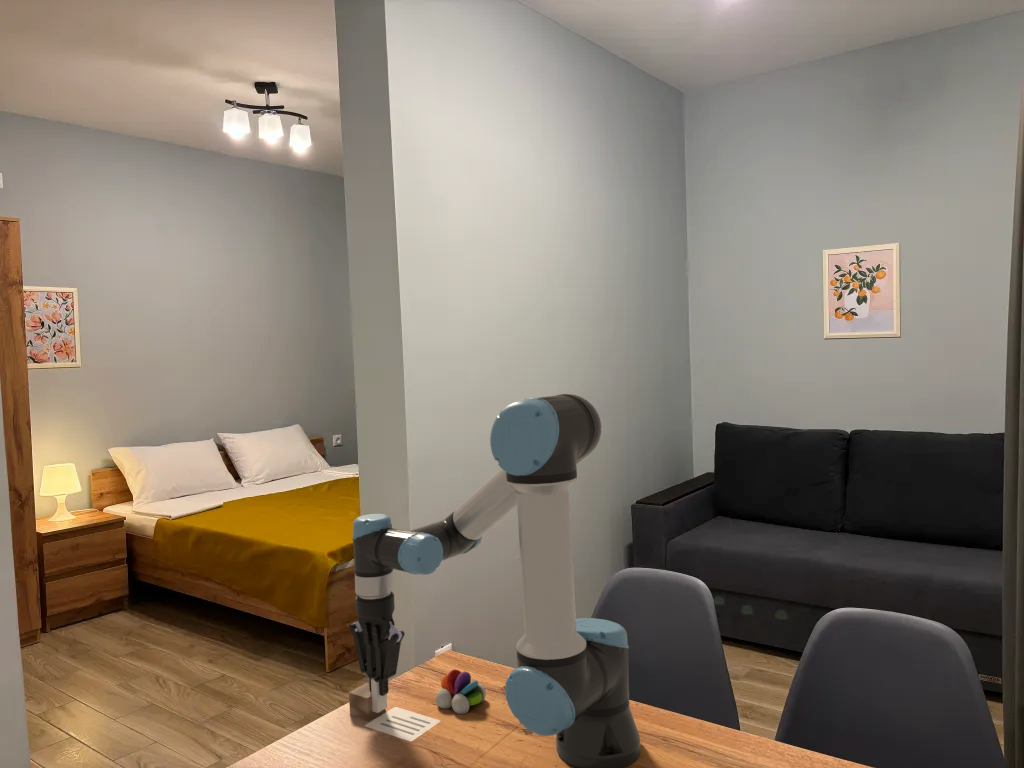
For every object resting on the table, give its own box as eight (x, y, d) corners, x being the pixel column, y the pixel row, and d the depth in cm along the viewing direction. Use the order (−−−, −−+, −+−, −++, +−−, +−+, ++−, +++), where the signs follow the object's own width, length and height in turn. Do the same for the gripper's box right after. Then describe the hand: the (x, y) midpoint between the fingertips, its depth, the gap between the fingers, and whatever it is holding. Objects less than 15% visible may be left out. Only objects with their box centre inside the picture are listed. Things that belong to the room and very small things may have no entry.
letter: (441, 722, 148) (441, 720, 148) (411, 743, 140) (411, 741, 140) (395, 708, 155) (395, 706, 155) (364, 727, 147) (364, 725, 147)
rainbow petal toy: (456, 691, 161) (455, 658, 161) (492, 703, 156) (491, 668, 155) (430, 707, 154) (428, 673, 154) (466, 720, 149) (465, 684, 148)
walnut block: (385, 712, 153) (384, 688, 153) (368, 722, 149) (367, 698, 149) (367, 706, 156) (366, 682, 156) (350, 716, 152) (348, 692, 152)
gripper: (412, 592, 149) (417, 709, 150) (364, 583, 156) (369, 694, 157) (386, 604, 143) (391, 725, 144) (337, 593, 150) (342, 709, 151)
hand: (379, 709), depth 151 cm, fingers closed
